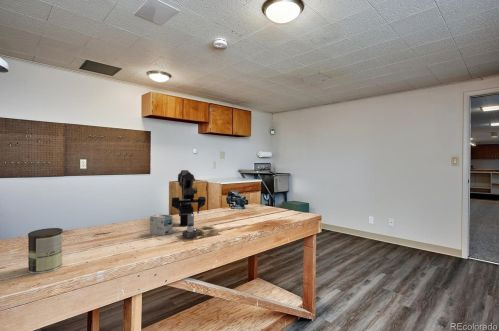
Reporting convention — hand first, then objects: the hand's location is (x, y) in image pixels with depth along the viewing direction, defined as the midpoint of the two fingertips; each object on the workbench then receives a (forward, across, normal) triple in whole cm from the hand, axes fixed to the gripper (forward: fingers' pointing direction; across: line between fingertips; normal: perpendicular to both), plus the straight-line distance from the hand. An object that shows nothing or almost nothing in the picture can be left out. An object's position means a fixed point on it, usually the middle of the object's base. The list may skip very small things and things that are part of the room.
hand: (189, 214), depth 140 cm
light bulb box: (+4, -15, +14) cm, 21 cm away
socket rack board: (+12, +5, +6) cm, 14 cm away
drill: (+12, 0, +4) cm, 12 cm away
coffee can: (+28, -56, -10) cm, 63 cm away
